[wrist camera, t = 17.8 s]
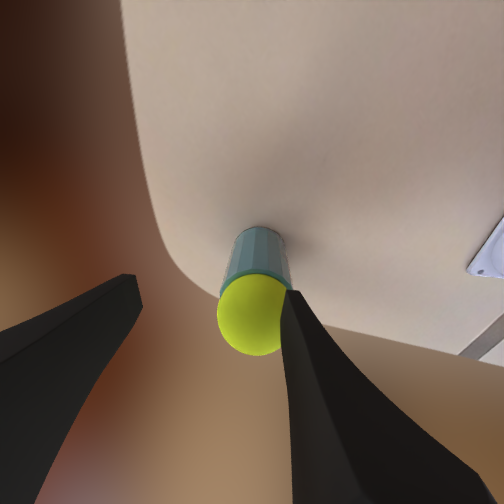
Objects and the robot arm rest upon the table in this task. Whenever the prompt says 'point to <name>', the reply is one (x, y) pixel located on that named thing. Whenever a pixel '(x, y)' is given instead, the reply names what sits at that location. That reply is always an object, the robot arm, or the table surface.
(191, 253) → the table surface
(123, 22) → the table surface
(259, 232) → the tumbler
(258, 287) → the ball
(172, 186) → the table surface
